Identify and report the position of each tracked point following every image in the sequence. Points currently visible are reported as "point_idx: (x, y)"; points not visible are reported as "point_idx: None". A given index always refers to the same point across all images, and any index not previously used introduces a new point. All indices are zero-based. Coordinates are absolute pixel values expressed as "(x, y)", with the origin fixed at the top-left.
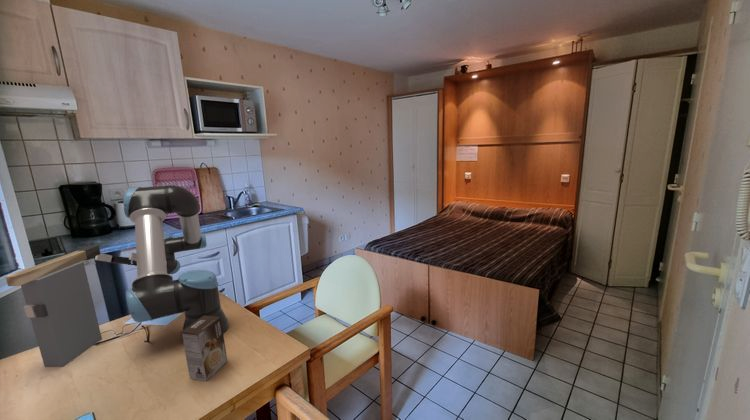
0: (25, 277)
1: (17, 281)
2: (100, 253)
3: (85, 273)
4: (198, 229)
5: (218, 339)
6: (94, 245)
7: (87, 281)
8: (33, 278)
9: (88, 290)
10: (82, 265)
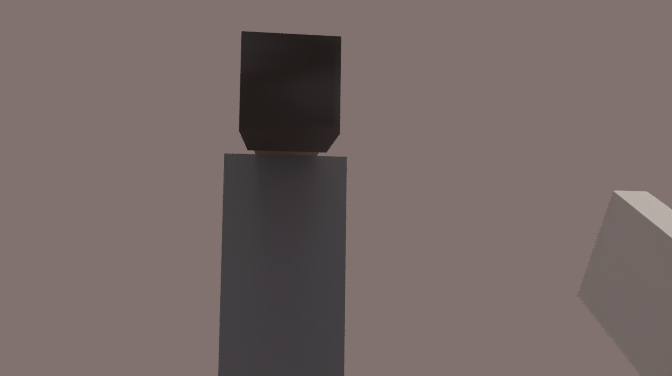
0: None
1: None
2: (239, 123)
3: (223, 239)
4: None
5: None
6: (286, 34)
7: (220, 301)
8: None
9: (220, 367)
10: (225, 176)
